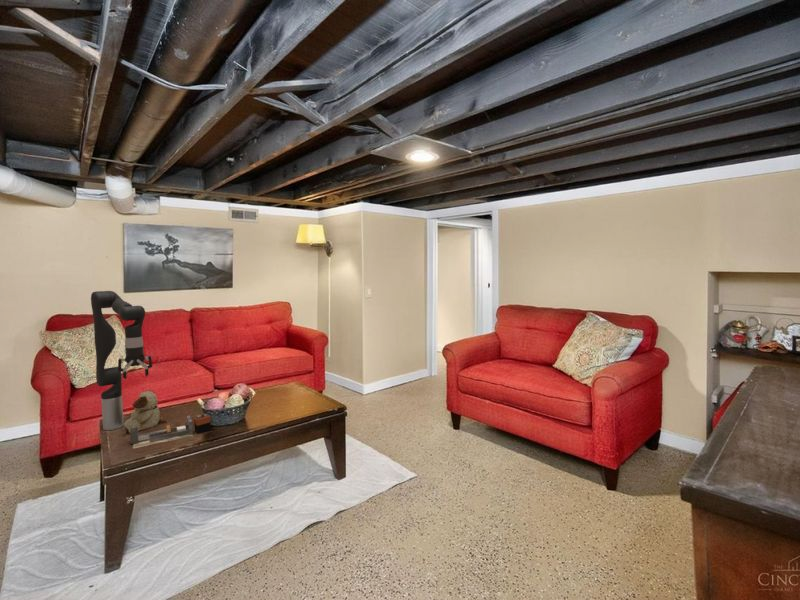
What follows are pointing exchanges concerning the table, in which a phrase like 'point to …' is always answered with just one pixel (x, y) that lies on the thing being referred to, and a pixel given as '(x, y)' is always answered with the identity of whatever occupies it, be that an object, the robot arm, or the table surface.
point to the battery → (202, 423)
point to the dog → (145, 412)
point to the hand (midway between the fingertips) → (136, 377)
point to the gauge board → (167, 435)
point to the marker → (181, 428)
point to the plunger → (146, 434)
